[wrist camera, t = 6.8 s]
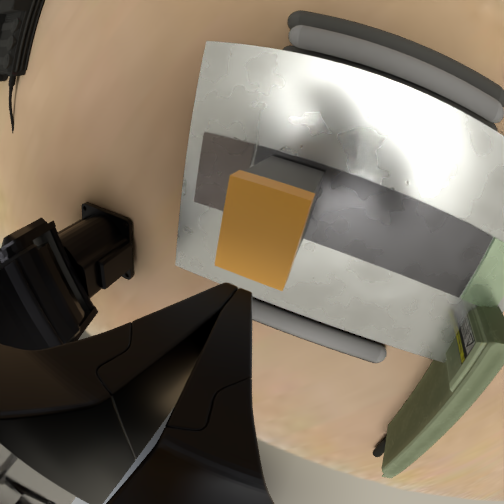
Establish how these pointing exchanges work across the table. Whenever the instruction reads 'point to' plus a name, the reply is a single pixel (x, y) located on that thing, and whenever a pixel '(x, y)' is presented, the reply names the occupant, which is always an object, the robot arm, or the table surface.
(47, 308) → the robot arm
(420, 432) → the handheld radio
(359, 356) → the grey rounded rod
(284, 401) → the table surface
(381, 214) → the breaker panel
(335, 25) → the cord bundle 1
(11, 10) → the electronic device
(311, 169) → the lever
